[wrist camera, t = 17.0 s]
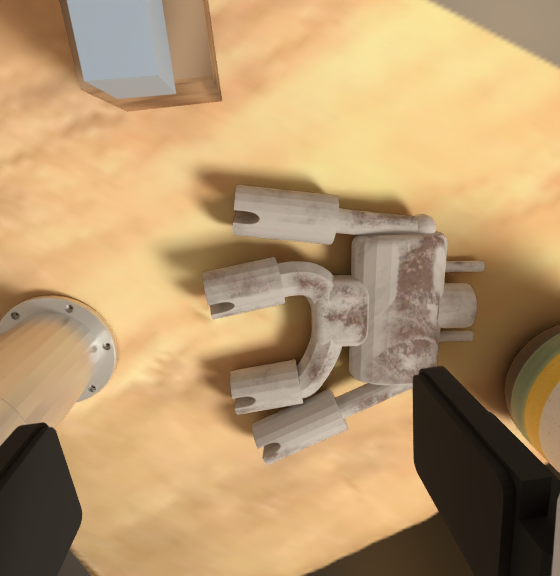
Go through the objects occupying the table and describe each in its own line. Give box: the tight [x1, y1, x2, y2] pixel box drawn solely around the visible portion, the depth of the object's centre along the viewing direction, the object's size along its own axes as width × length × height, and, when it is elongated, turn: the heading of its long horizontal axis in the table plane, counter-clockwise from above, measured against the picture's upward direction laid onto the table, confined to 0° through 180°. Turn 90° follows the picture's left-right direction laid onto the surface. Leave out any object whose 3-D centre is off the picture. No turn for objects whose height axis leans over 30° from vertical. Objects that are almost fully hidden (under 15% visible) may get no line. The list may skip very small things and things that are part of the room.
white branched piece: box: [203, 185, 485, 465], centre depth 43 cm, size 31×7×30 cm
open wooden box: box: [60, 0, 222, 111], centre depth 31 cm, size 9×12×11 cm
